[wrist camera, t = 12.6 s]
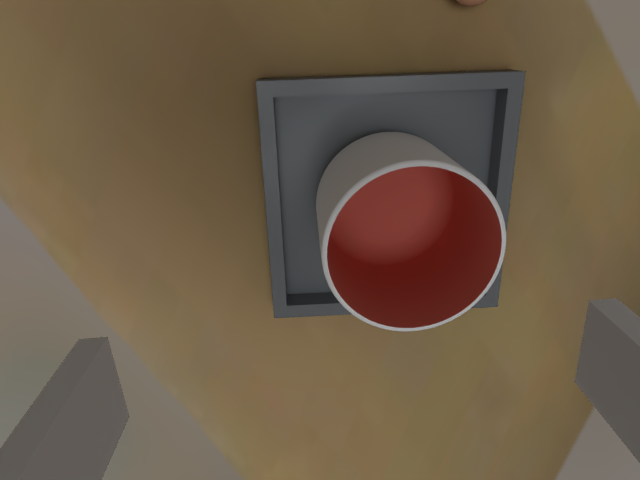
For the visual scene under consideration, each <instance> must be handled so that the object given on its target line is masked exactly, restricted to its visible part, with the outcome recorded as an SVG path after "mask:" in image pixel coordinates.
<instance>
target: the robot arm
mask: <svg viewBox="0 0 640 480" xmlns="http://www.w3.org/2000/svg"><path fill="white" fill-rule="evenodd" d="M575 383H576V384H577V385H578V387H579V388H580V389H581V390H582V392H583V393H584V394H585V395H586V397H587V398H588V399H589V400H590V402H591V403H592V404H593V405H594V407H595V408H596V409H597V410H598V411H599V413H600V414H601V415H602V417H603V418H604V419H605V420H606V422H607V423H608V424H609V425H610V427H611V428H612V429H613V430H614V431H615V433H616V434H617V435H618V437H619V438H620V439H621V440H622V441H623V443H624V444H625V445H626V446H627V448H628V449H629V450H630V451H631V453H632V454H633V455H634V456H635V458H636V459H637V460H638V461H639V462H640V317H639V316H637V315H636V314H635V313H634V312H632V311H631V310H630V309H629V308H628V307H626V306H625V305H624V304H623V303H621V302H620V301H619V300H618V299H617V298H616V299H603V300H589V303H588V309H587V314H586V320H585V326H584V331H583V337H582V343H581V348H580V354H579V359H578V365H577V371H576V376H575ZM128 418H129V413H128V410H127V406H126V403H125V399H124V395H123V392H122V388H121V384H120V381H119V377H118V374H117V370H116V366H115V362H114V359H113V355H112V352H111V348H110V344H109V340H108V337H100V338H88V339H79V340H78V341H77V342H76V344H75V345H74V347H73V348H72V349H71V351H70V352H69V354H68V355H67V356H66V358H65V359H64V361H63V362H62V363H61V365H60V366H59V368H58V369H57V370H56V372H55V373H54V374H53V376H52V377H51V379H50V380H49V381H48V383H47V384H46V386H45V387H44V388H43V390H42V391H41V393H40V394H39V395H38V397H37V398H36V400H35V401H34V402H33V404H32V405H31V406H30V408H29V409H28V411H27V412H26V414H25V415H24V416H23V418H22V419H21V420H20V422H19V423H18V425H17V426H16V427H15V429H14V430H13V432H12V433H11V434H10V436H9V437H8V438H7V440H6V441H5V443H4V444H3V445H2V447H1V448H0V480H101V479H102V477H103V475H104V473H105V471H106V468H107V466H108V464H109V461H110V459H111V457H112V455H113V452H114V450H115V448H116V446H117V443H118V440H119V439H120V437H121V434H122V432H123V430H124V428H125V425H126V423H127V421H128Z"/></svg>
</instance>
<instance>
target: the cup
mask: <svg viewBox="0 0 640 480" xmlns="http://www.w3.org/2000/svg"><path fill="white" fill-rule="evenodd" d="M316 213H317V223H318V232H319V241H320V250H321V259H322V267H323V271H324V275H325V278H326V281H327V283H328V285H329V287H330V289H331V291H332V293H333V294H334V296H335V297H336V299H337V300H338V301H339V302H340V303H341V304H342V306H343V307H344V308H345V309H347V310H348V311H349V312H350V313H351V314H353V315H354V316H356V317H357V318H359V319H360V320H362V321H364V322H366V323H368V324H371V325H373V326H376V327H379V328H383V329H387V330H394V331H418V330H425V329H429V328H433V327H436V326H439V325H442V324H444V323H447V322H449V321H451V320H453V319H455V318H457V317H459V316H460V315H462V314H463V313H465V312H466V311H468V310H469V309H470V308H471V307H473V306H474V305H475V304H476V303H477V302H478V301H479V300H480V299H481V298H482V297H483V296H484V295H485V293H486V292H487V291H488V290H489V288H490V287H491V285H492V284H493V282H494V280H495V279H496V277H497V275H498V273H499V270H500V268H501V265H502V262H503V258H504V254H505V248H506V228H505V222H504V218H503V214H502V212H501V209H500V206H499V204H498V203H497V201H496V199H495V197H494V196H493V194H492V193H491V191H490V190H489V189H488V188H487V187H486V186H485V185H484V184H483V183H482V182H481V181H480V180H479V179H478V178H476V177H475V176H474V175H473V174H471V173H470V172H469V171H467V170H466V169H465V168H463V167H462V166H461V165H459V164H458V163H456V162H455V161H454V160H452V159H451V158H450V157H448V156H447V155H446V154H444V153H443V152H442V151H440V150H439V149H438V148H436V147H435V146H434V145H432V144H431V143H429V142H427V141H426V140H424V139H422V138H420V137H417V136H415V135H411V134H407V133H402V132H380V133H375V134H371V135H368V136H365V137H363V138H360V139H358V140H356V141H354V142H352V143H351V144H349V145H348V146H346V147H345V148H344V149H343V150H341V151H340V152H339V153H338V154H337V155H336V156H335V157H334V158H333V160H332V161H331V162H330V163H329V165H328V167H327V168H326V170H325V172H324V174H323V176H322V178H321V181H320V183H319V186H318V191H317V197H316Z"/></svg>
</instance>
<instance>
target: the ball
mask: <svg viewBox="0 0 640 480" xmlns="http://www.w3.org/2000/svg"><path fill="white" fill-rule="evenodd" d="M456 1H457V2H459V3H460V4H463V5H467V6H473V5H478V4H481V3H483V2H485V1H487V0H456Z"/></svg>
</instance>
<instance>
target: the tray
mask: <svg viewBox="0 0 640 480" xmlns="http://www.w3.org/2000/svg"><path fill="white" fill-rule="evenodd" d="M525 72H526V71H519V70H511V69H509V70H482V71H455V72H427V73H400V74H373V75H346V76H318V77H291V78H264V79H258V80H257V81H256V90H257V103H258V116H259V128H260V141H261V154H262V167H263V180H264V193H265V205H266V218H267V231H268V244H269V257H270V270H271V282H272V295H273V308H274V318H286V317H306V316H326V315H346V314H351V313H350V312H349V311H348V310H347V309H345V308H344V307H343V306H342V304H341V303H340V302H339V301H338V300H337V299H336V297H335V296H334V294H333V293H332V291H331V289H330V287H329V285H328V283H327V281H326V278H325V275H324V271H323V267H322V259H321V250H320V241H319V232H318V223H317V213H316V197H317V191H318V186H319V183H320V181H321V178H322V176H323V174H324V172H325V170H326V168H327V167H328V165H329V163H330V162H331V161H332V160H333V158H334V157H335V156H336V155H337V154H338V153H339V152H340V151H341V150H343V149H344V148H345V147H346V146H348V145H349V144H351V143H352V142H354V141H356V140H358V139H360V138H363V137H365V136H368V135H371V134H375V133H380V132H402V133H407V134H411V135H415V136H417V137H420V138H422V139H424V140H426V141H427V142H429V143H431V144H432V145H434V146H435V147H436V148H438V149H439V150H440V151H442V152H443V153H444V154H446V155H447V156H448V157H450V158H451V159H452V160H454V161H455V162H456V163H458V164H459V165H461V166H462V167H463V168H465V169H466V170H467V171H469V172H470V173H471V174H473V175H474V176H475V177H476V178H478V179H479V180H480V181H481V182H482V183H483V184H484V185H485V186H486V187H487V188H488V189H489V190H490V191H491V193H492V194H493V196H494V197H495V199H496V201H497V203H498V204H499V206H500V209H501V212H502V214H503V218H504V222H505V228H506V231H507V223H508V214H509V206H510V198H511V189H512V181H513V172H514V164H515V156H516V147H517V139H518V131H519V122H520V114H521V105H522V97H523V89H524V80H525ZM502 265H503V262H502ZM502 265H501V268H500V270H499V273H498V275H497V277H496V279H495V280H494V282H493V284H492V285H491V287H490V288H489V290H488V291H487V292H486V293H485V295H484V296H483V297H482V298H481V299H480V300H479V301H478V302H477V303H476V304H475V305H474V306H473V307H471V308H484V307H497V306H498V298H499V290H500V281H501V273H502Z"/></svg>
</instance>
